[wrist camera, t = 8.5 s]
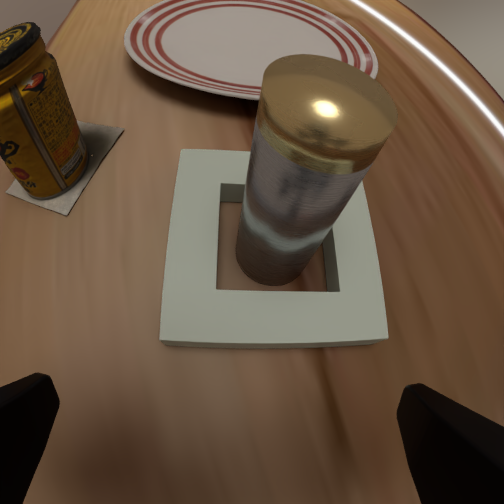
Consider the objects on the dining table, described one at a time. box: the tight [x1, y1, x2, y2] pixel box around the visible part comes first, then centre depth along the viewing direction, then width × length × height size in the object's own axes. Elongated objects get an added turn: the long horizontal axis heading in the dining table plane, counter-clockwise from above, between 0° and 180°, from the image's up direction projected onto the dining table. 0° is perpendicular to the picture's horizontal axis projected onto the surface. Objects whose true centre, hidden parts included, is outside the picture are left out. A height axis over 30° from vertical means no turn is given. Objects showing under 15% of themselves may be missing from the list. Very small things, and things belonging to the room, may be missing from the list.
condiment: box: [0, 22, 124, 216], centre depth 16 cm, size 7×8×12 cm
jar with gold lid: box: [236, 54, 398, 286], centre depth 14 cm, size 4×4×12 cm
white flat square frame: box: [159, 149, 388, 349], centre depth 19 cm, size 12×12×2 cm
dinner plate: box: [124, 0, 378, 100], centre depth 29 cm, size 27×27×3 cm
